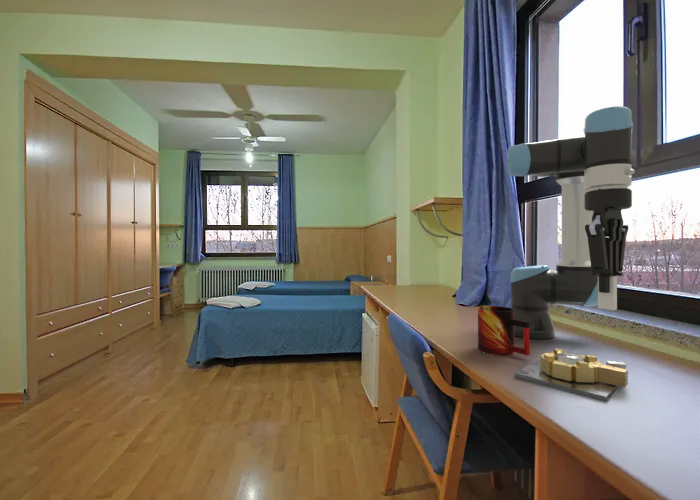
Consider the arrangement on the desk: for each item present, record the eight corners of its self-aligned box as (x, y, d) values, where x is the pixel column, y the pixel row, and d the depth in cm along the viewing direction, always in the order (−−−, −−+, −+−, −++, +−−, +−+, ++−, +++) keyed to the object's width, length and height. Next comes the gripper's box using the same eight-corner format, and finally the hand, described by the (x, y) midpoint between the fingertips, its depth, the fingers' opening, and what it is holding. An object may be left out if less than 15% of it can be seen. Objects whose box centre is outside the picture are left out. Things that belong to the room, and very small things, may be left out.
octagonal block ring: (534, 372, 78) (534, 355, 78) (551, 361, 85) (551, 346, 85) (620, 393, 66) (620, 373, 66) (632, 379, 74) (632, 361, 74)
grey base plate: (543, 361, 90) (543, 342, 90) (630, 380, 76) (630, 357, 76) (514, 377, 78) (514, 355, 78) (611, 403, 65) (611, 376, 65)
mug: (529, 360, 91) (529, 314, 91) (474, 352, 98) (474, 309, 98) (533, 351, 99) (532, 309, 99) (482, 344, 106) (482, 305, 106)
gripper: (614, 184, 62) (614, 315, 63) (644, 189, 69) (644, 308, 69) (569, 189, 68) (570, 309, 69) (601, 194, 75) (601, 302, 76)
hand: (607, 308), depth 69 cm, fingers closed
